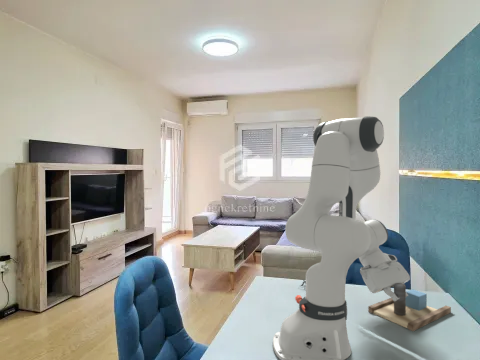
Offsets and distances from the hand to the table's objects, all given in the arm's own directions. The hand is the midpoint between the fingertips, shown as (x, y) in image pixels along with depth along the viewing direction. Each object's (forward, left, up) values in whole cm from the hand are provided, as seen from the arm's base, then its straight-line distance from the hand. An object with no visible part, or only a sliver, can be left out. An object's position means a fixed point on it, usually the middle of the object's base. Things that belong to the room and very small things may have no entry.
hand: (401, 298), depth 103 cm
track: (+5, +4, -7) cm, 9 cm away
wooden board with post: (+3, +3, -6) cm, 8 cm away
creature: (-26, +31, -8) cm, 41 cm away
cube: (+8, +6, -5) cm, 11 cm away
